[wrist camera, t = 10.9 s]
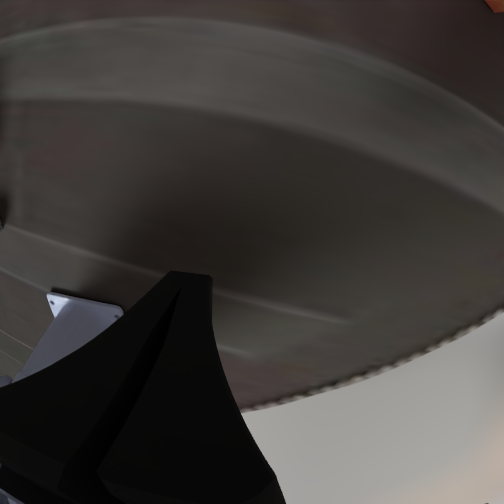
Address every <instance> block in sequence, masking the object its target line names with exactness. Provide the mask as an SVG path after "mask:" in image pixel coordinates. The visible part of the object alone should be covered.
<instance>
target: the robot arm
mask: <svg viewBox="0 0 504 504" xmlns="http://www.w3.org/2000/svg"><path fill="white" fill-rule="evenodd" d="M212 283H213V279H212V278H211V277H210V276H209V275H203V274H194V273H186V272H178V271H170V272H169V273H167V274H166V275H165V276H164V277H163V278H162V279H161V280H160V281H159V282H158V283H157V284H156V285H155V286H154V287H153V288H152V289H151V290H150V291H149V292H148V293H147V294H146V295H144V296H143V297H142V298H141V299H140V300H139V301H138V302H137V303H136V304H135V305H133V306H132V307H131V308H130V309H129V310H128V311H127V312H126V313H125V314H124V313H123V310H122V308H121V307H119V306H117V305H111V304H106V303H101V302H96V301H91V300H86V299H81V298H77V297H72V296H67V295H63V294H59V293H54V292H49V293H48V294H47V299H48V301H49V304H50V307H51V309H52V312H53V314H54V317H55V318H54V320H53V321H52V323H51V324H50V326H49V327H48V329H47V330H46V332H45V333H44V335H43V336H42V338H41V340H40V341H39V343H38V344H37V346H36V347H35V349H34V351H33V352H32V354H31V355H30V357H29V359H28V360H27V362H26V364H25V365H24V367H23V369H22V370H21V372H18V373H17V375H16V377H15V379H14V380H13V382H12V383H11V381H12V378H11V377H9V376H8V375H5V376H0V504H286V502H285V499H284V496H283V494H282V491H281V489H280V486H279V483H278V481H277V477H276V475H275V473H274V471H273V470H272V468H271V467H270V465H269V464H268V462H267V461H266V460H265V458H264V456H263V454H262V452H261V451H260V449H259V447H258V446H257V444H256V442H255V440H254V439H253V437H252V435H251V433H250V431H249V429H248V427H247V426H246V423H245V421H244V419H243V417H242V415H241V413H240V410H239V408H238V406H237V404H236V402H235V399H234V397H233V395H232V392H231V390H230V387H229V384H228V382H227V379H226V376H225V373H224V370H223V367H222V364H221V361H220V357H219V354H218V350H217V346H216V342H215V337H214V332H213V327H212ZM486 504H488V503H486Z"/></svg>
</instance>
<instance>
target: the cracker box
mask: <svg viewBox="0 0 504 504" xmlns="http://www.w3.org/2000/svg"><path fill="white" fill-rule="evenodd" d="M484 1H485V2H486V3H487V4H488V5H489V7H490V8H491V9H492V10H493V11H494V12H495V13H500V12H504V0H484Z"/></svg>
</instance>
